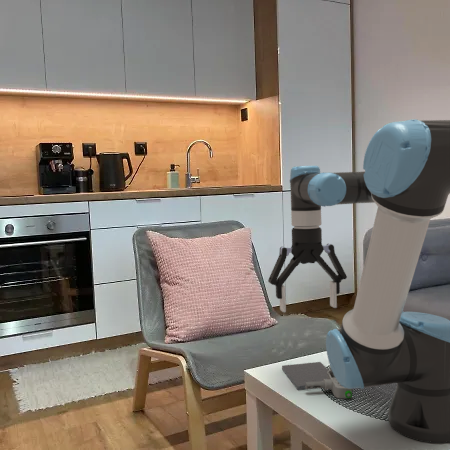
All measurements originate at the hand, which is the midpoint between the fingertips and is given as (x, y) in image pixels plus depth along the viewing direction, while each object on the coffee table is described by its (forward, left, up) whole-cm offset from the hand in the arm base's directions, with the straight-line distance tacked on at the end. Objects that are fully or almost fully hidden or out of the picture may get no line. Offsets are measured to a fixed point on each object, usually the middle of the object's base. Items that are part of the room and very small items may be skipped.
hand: (308, 308), depth 131 cm
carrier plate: (0, 0, -18) cm, 18 cm away
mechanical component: (-9, +5, -16) cm, 19 cm away
